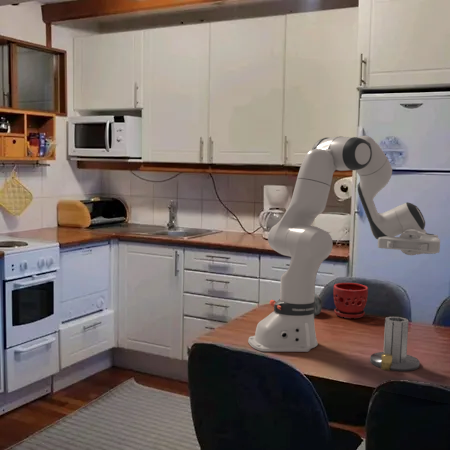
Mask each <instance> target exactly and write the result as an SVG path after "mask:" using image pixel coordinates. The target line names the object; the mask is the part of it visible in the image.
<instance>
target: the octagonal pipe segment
mask: <svg viewBox="0 0 450 450" xmlns="http://www.w3.org/2000/svg"><path fill="white" fill-rule="evenodd" d="M383 332H384V334H383V337H384V338H383V351H382V352H383V354H391V355H392V362H394V363H402V362H406V357H407V355H408V353H407V352H408V340H409V339H408V337H409V335H408V334H409V333H408V332H409V319H408V318H404V317H400V316H387V317H385V318H384V331H383Z"/></svg>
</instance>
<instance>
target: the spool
mask: <svg viewBox="0 0 450 450" xmlns="http://www.w3.org/2000/svg"><path fill="white" fill-rule="evenodd" d="M314 301H315V307H316V311H315V316H318V315H320V313H321V312H322V309H323V301H322V299H321V297H320V296H319V295H318V294H316V293H315V294H314Z"/></svg>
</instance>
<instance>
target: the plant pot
mask: <svg viewBox="0 0 450 450" xmlns="http://www.w3.org/2000/svg"><path fill="white" fill-rule="evenodd" d="M332 291H333V303H334V306H335V308H334V313H335V314H336V316H338V317H341V318H343V317H344V319H351V318H354V319H359V318H363V317H364V315H365V314H366V312H365V311H364V309H365V308H366V305H367V302H368V297H369V287H368V286H367V285H365V284H364V285H363V284H360V283H356V282H338V283H335V284H334V285H333V290H332Z"/></svg>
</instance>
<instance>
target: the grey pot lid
mask: <svg viewBox="0 0 450 450" xmlns="http://www.w3.org/2000/svg"><path fill="white" fill-rule="evenodd" d="M383 352H384V351H378V352H374V353H372V354H371V355H370V358H369V361H370V363H371V364H372V365H373V366H375V367H377V368H379V369H380V370H382V371H392V372H393V371H394V372H412V371H415V370H418V369H419V368H420V359H418V358H417V357H415V356H412V355H410V354H407V357H406V362H402V363H394V362H392V355H391V354H383Z"/></svg>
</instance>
